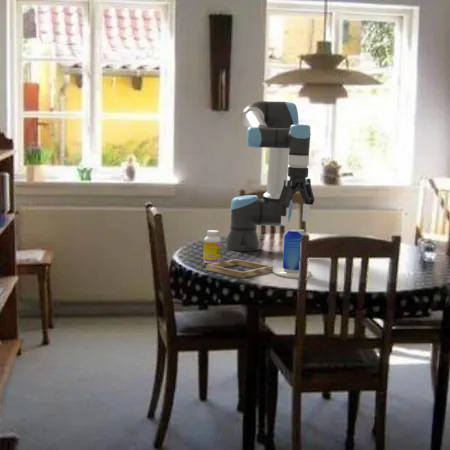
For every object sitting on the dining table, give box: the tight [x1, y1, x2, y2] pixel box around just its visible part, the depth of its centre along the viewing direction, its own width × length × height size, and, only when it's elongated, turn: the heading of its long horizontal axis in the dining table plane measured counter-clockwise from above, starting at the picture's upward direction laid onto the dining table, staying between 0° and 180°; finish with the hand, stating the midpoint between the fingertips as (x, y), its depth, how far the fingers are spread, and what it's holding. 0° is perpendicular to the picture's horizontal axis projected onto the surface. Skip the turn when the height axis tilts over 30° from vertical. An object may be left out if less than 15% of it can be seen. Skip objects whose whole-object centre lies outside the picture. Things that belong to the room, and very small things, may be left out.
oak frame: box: [205, 258, 274, 279], centre depth 302 cm, size 18×18×2 cm
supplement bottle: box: [202, 229, 222, 265], centre depth 314 cm, size 7×7×13 cm
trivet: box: [273, 267, 312, 279], centre depth 299 cm, size 14×14×1 cm
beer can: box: [282, 227, 307, 273], centre depth 298 cm, size 8×8×16 cm
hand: (295, 223), depth 297 cm, fingers open, 13 cm apart
